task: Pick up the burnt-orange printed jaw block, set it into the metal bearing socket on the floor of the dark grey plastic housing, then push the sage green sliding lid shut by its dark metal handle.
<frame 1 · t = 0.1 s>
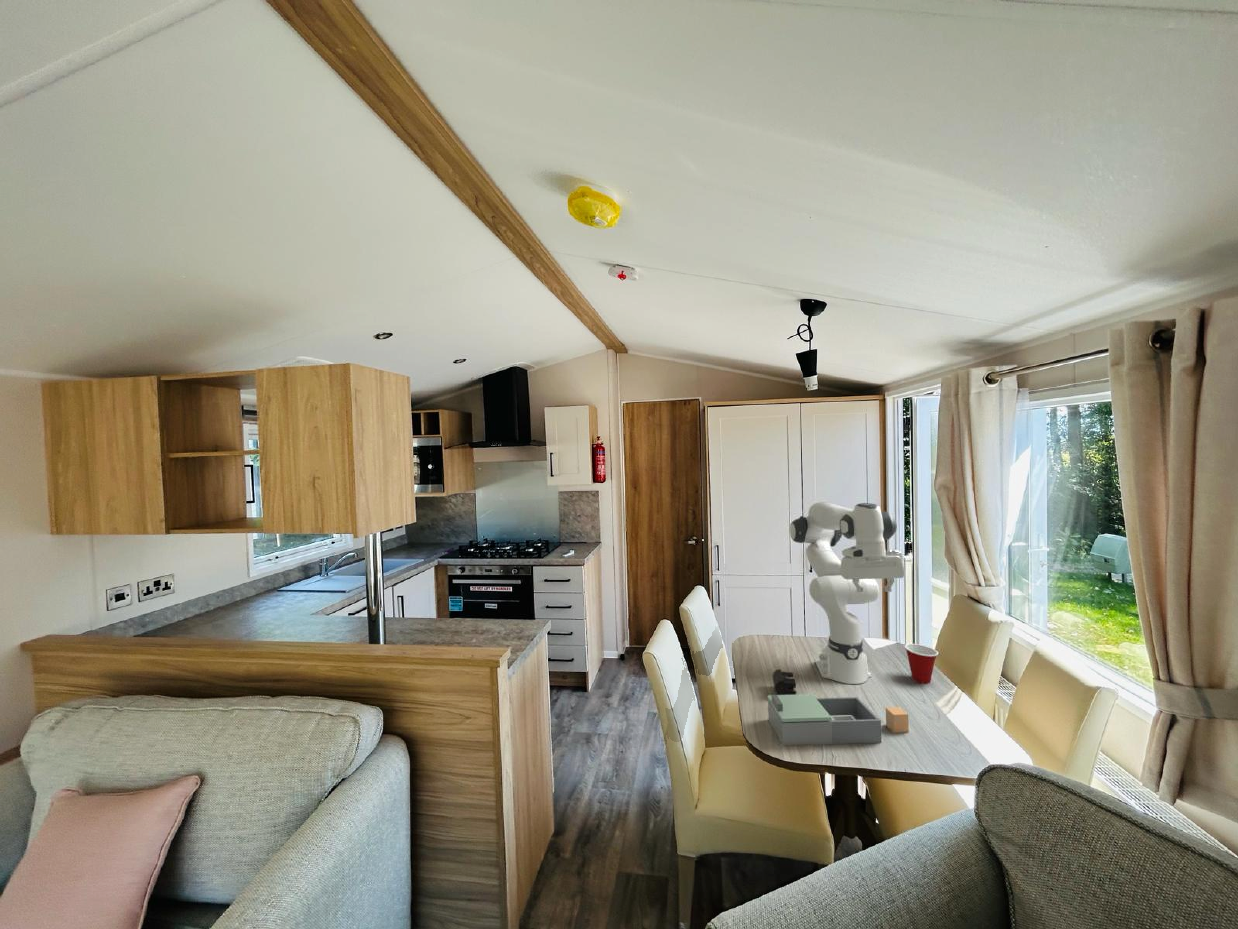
hand: (874, 592, 167), 39 cm above the table, tool pointing down, fingers open, 8 cm apart
plastic cup: (922, 680, 185), on the table
lid: (797, 704, 154), point 8 cm above the table, slide at -14.6 cm
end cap: (784, 694, 179), on the table
jaw block: (897, 728, 153), on the table
housing: (845, 729, 154), on the table
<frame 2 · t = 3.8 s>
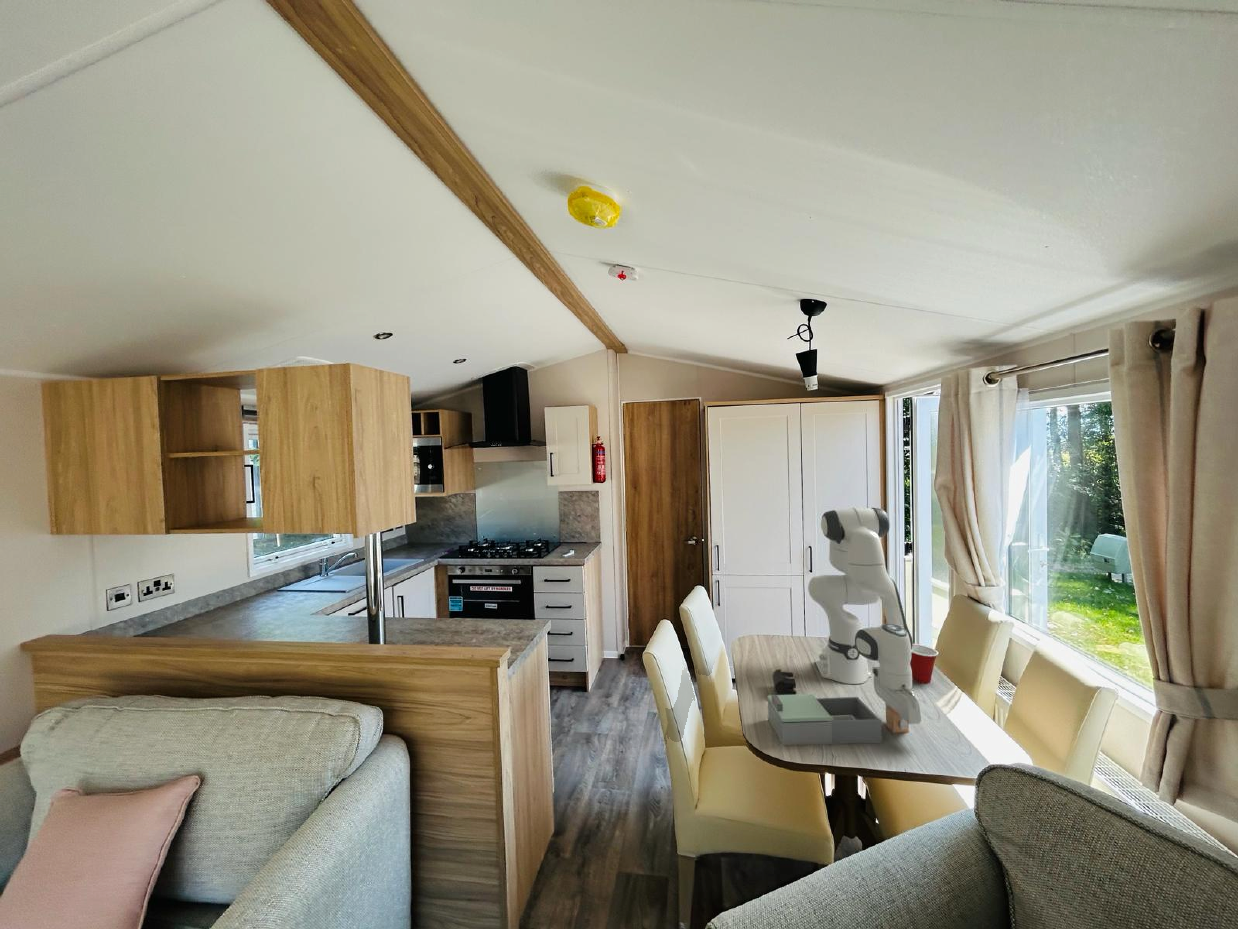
hand: (897, 723, 153), 2 cm above the table, tool pointing down, fingers closed on jaw block, 4 cm apart
jaw block: (897, 728, 153), on the table, touching gripper
everything else where it was.
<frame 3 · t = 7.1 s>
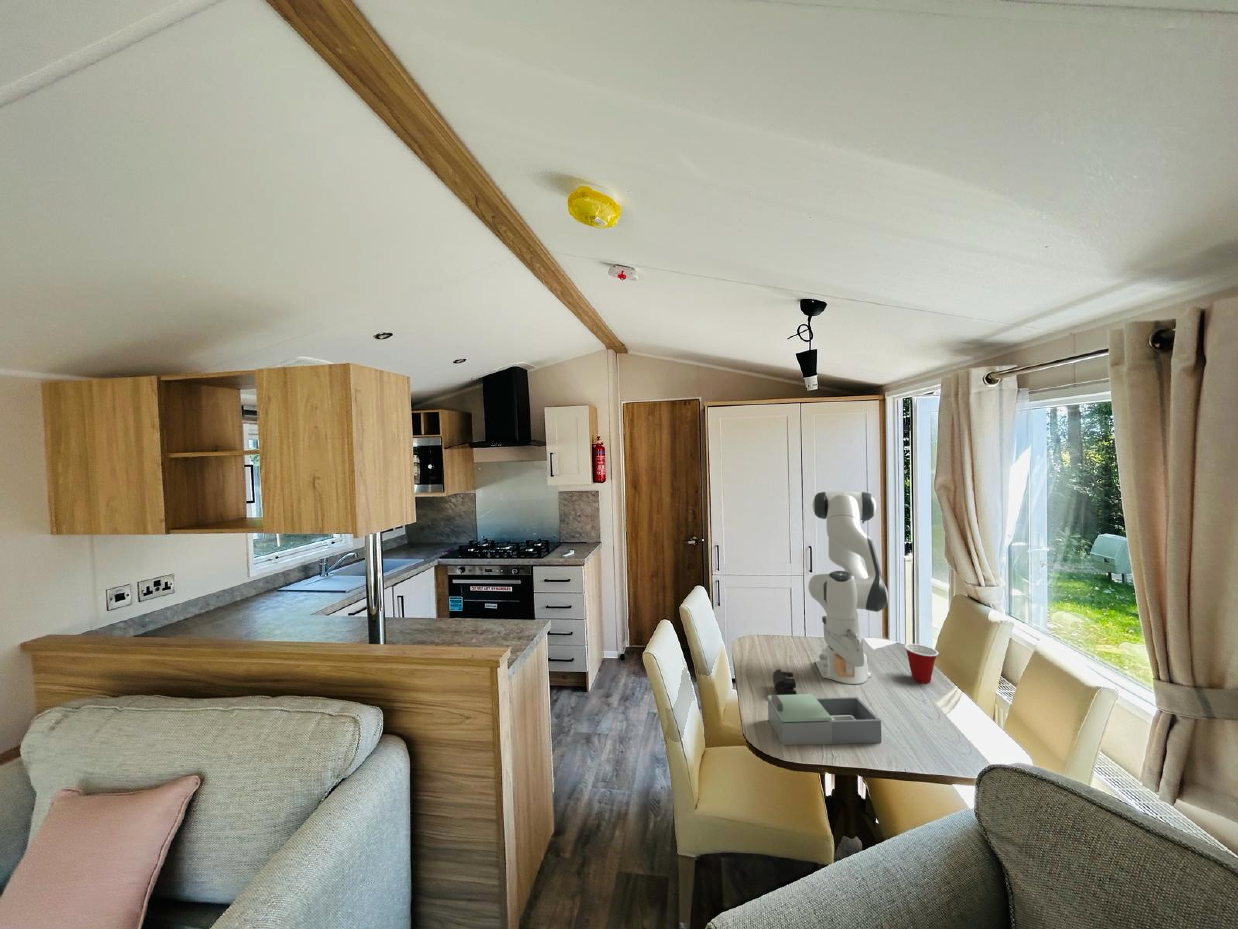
hand: (844, 669, 153), 19 cm above the table, tool pointing down, fingers closed on jaw block, 4 cm apart
jaw block: (844, 674, 153), point 17 cm above the table, touching gripper
everything else where it was.
when the fingers open (4 cm above the table, at t = 10.2 s): jaw block drops 1 cm, resting on housing.
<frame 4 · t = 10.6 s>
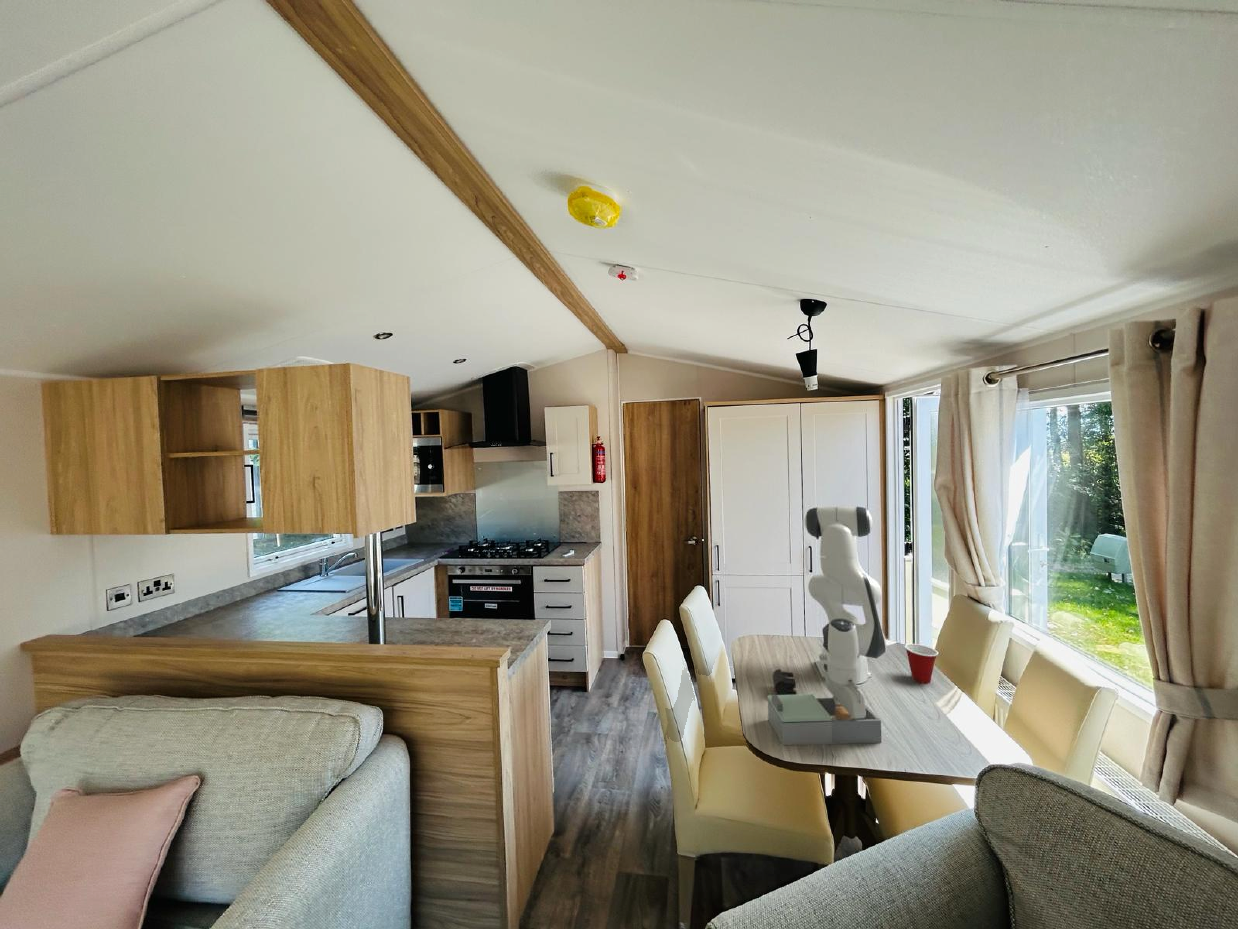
hand: (845, 717, 154), 4 cm above the table, tool pointing down, fingers open, 8 cm apart
jaw block: (845, 727, 154), point 1 cm above the table, touching housing
everything else where it was.
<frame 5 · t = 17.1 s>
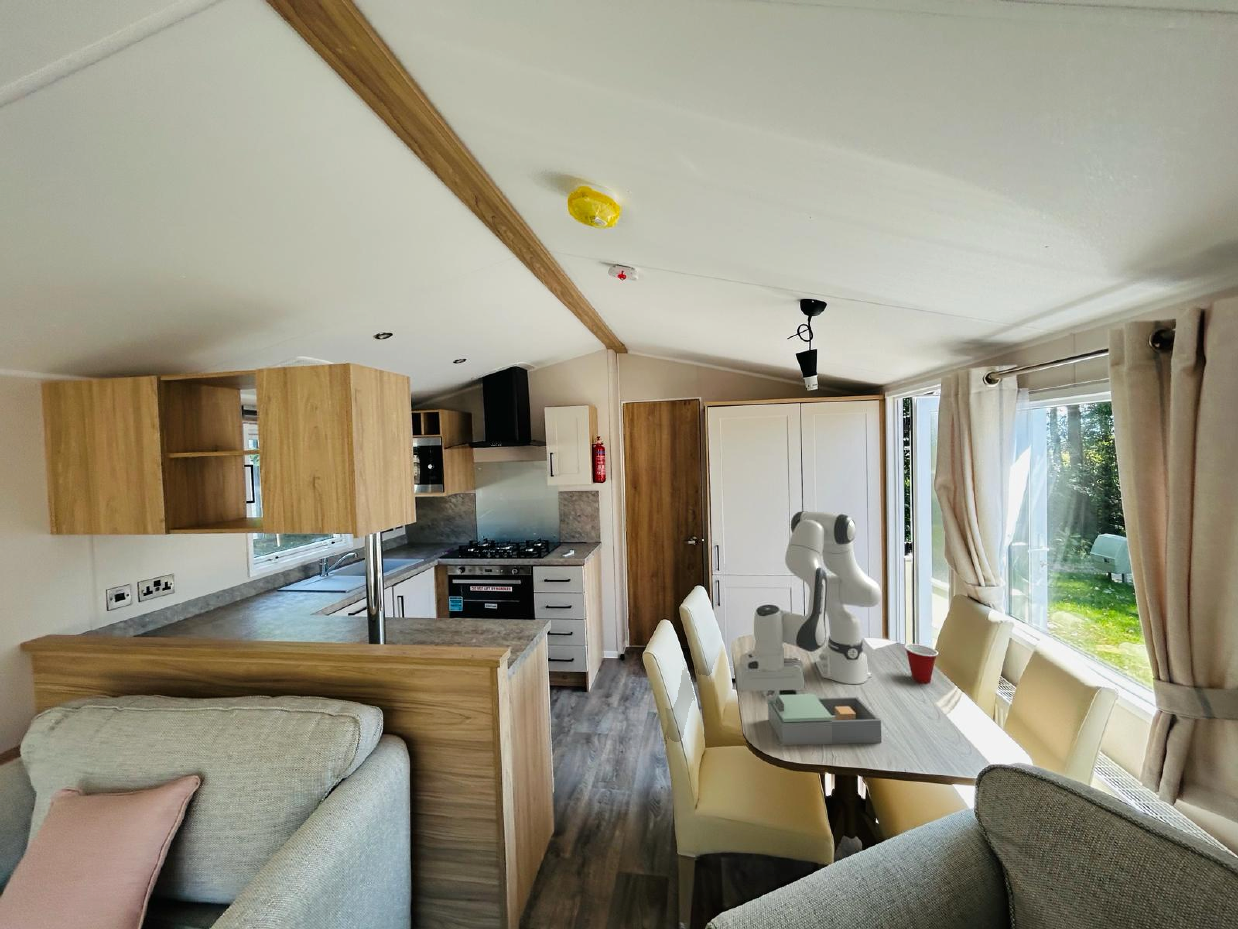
hand: (770, 703, 154), 9 cm above the table, tool pointing down, fingers closed
lid: (799, 703, 154), point 8 cm above the table, slide at -14.2 cm, touching gripper
everything else where it was.
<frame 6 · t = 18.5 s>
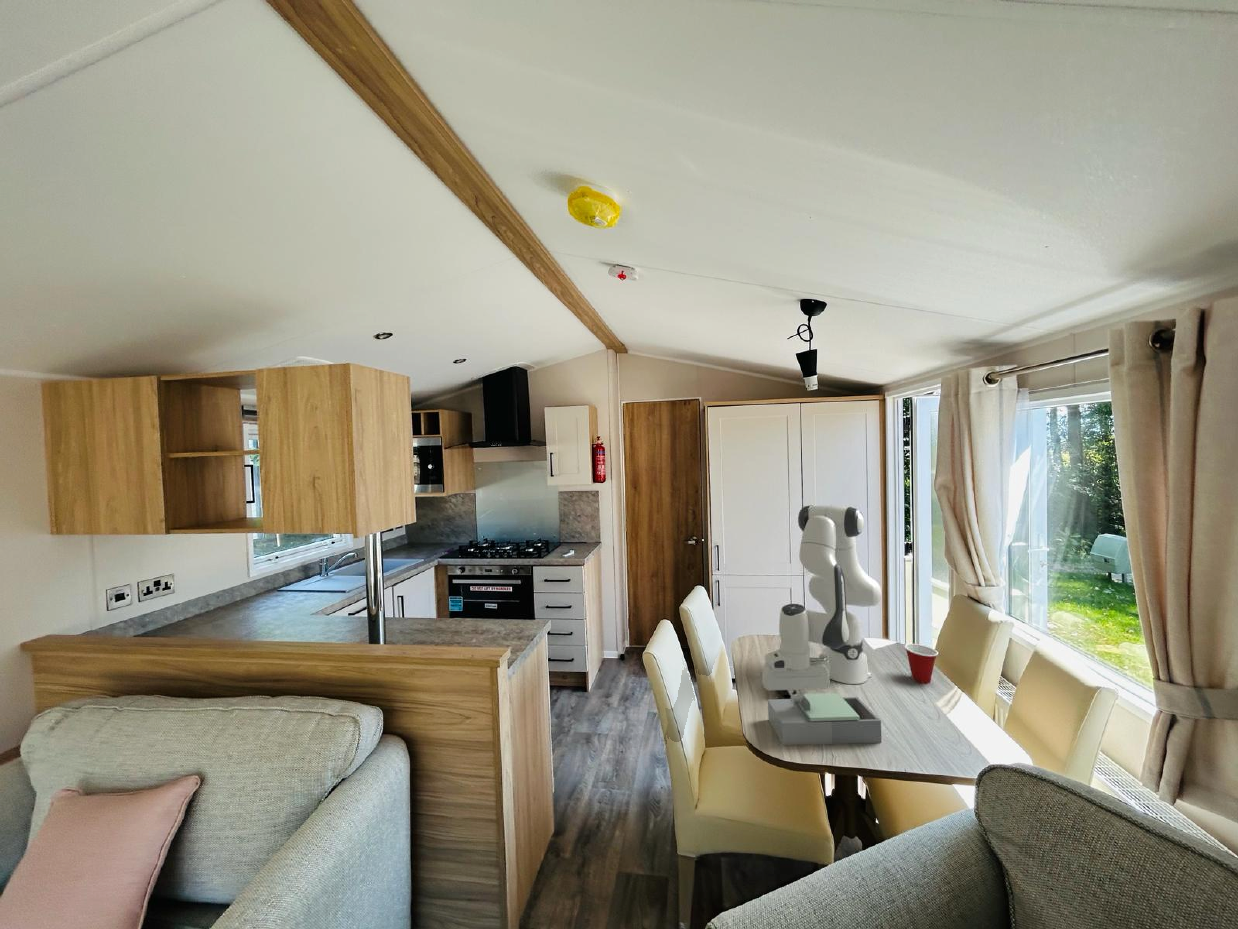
hand: (796, 702, 154), 9 cm above the table, tool pointing down, fingers closed
lid: (824, 703, 154), point 8 cm above the table, slide at -6.2 cm, touching gripper
everything else where it was.
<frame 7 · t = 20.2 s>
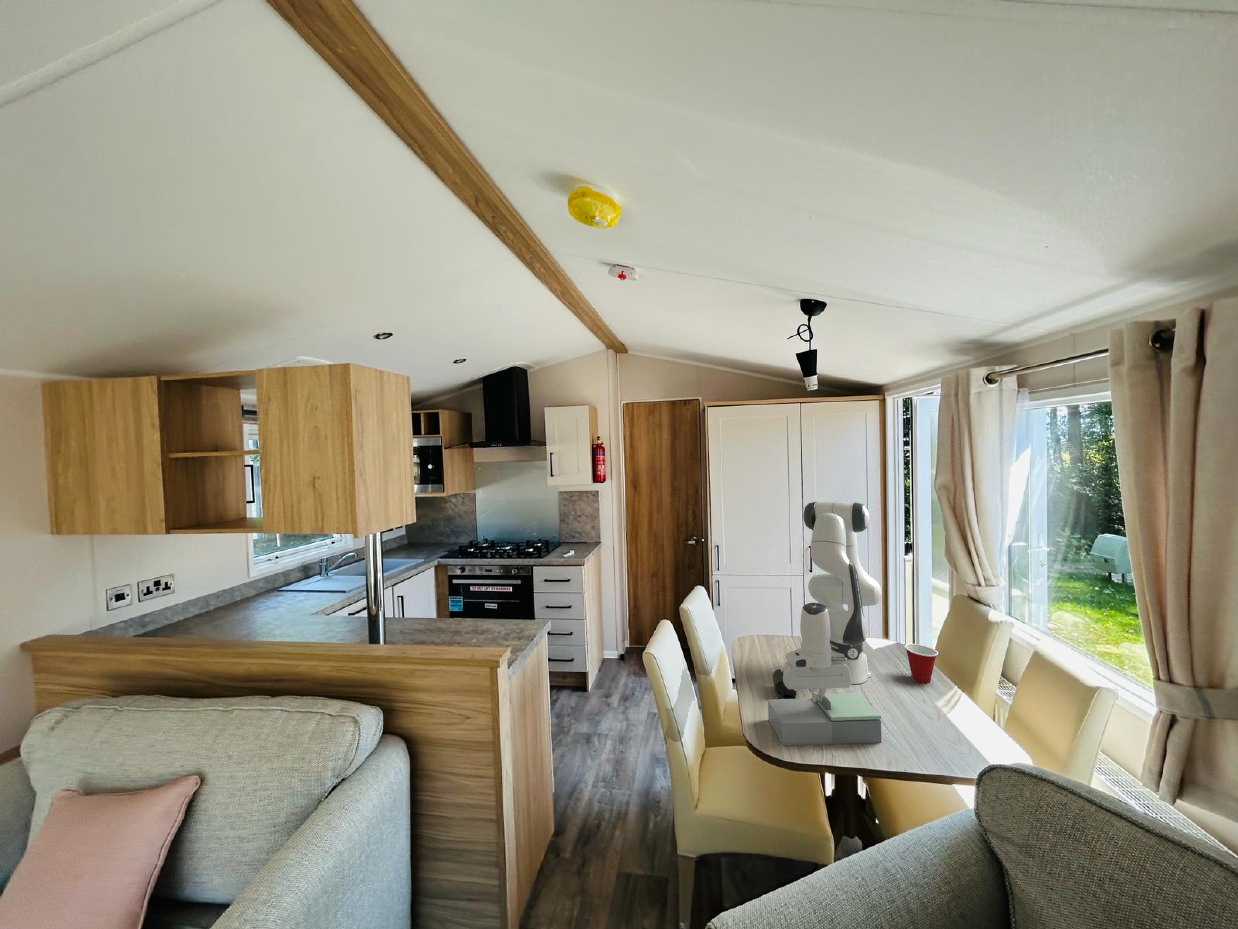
hand: (817, 701, 154), 9 cm above the table, tool pointing down, fingers closed
lid: (845, 702, 154), point 8 cm above the table, slide at 0.1 cm, touching gripper
everything else where it was.
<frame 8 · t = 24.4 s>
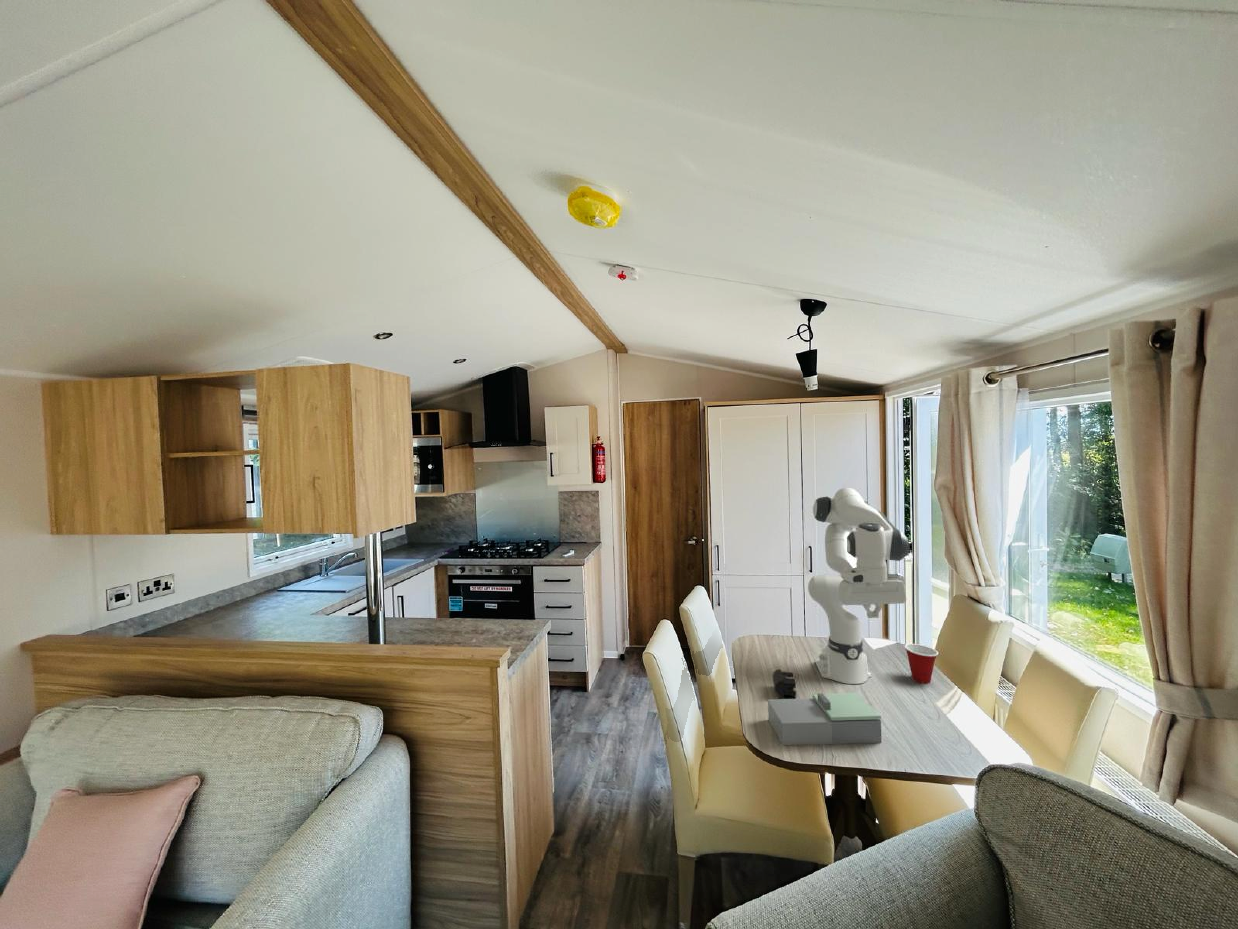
hand: (872, 617, 158), 33 cm above the table, tool pointing down, fingers closed
lid: (844, 702, 154), point 8 cm above the table, slide at 0.0 cm
everything else where it was.
at the end: jaw block 0.1 cm off-centre on the housing, point 0.6 cm above the housing's base; jaw block tilted 0°; lid slide at 0.0 cm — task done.
